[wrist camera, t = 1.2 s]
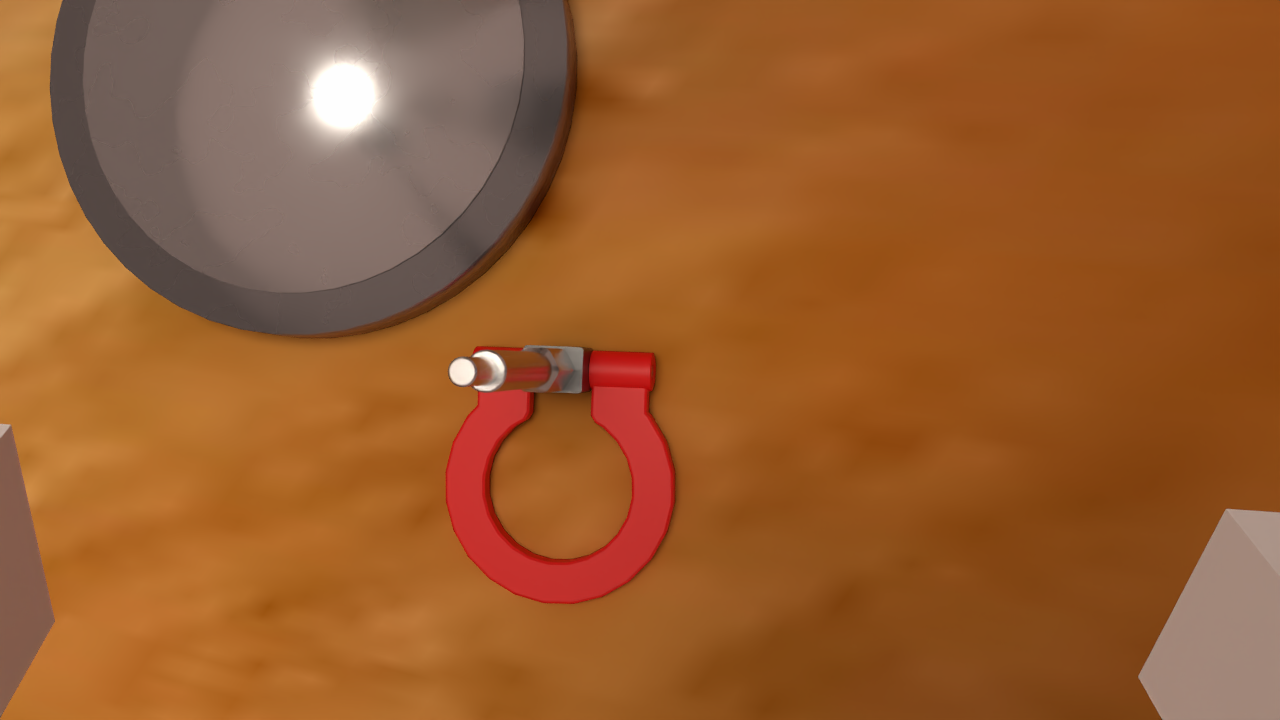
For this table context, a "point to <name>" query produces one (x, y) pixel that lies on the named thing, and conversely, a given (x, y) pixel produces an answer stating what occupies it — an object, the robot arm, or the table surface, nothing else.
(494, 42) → the dark grey plate
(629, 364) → the tow hook
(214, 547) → the table surface
